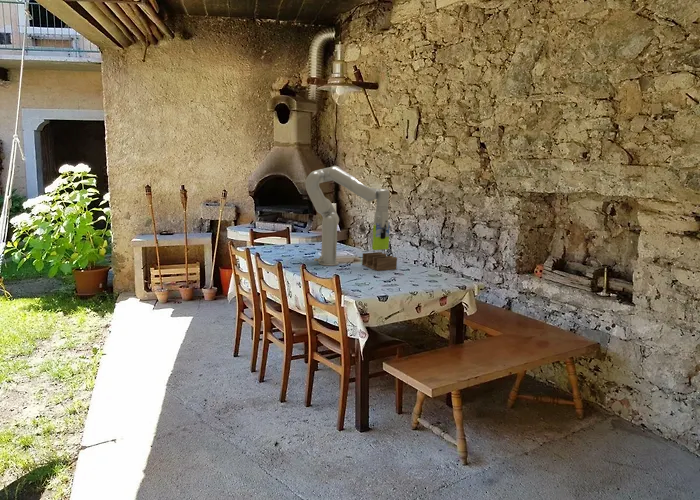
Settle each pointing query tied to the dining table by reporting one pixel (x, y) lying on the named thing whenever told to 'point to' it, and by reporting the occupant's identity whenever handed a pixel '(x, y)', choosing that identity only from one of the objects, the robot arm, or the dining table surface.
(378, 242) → the box
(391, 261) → the rack
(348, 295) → the dining table surface
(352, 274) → the dining table surface
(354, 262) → the dining table surface
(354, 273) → the dining table surface
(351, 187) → the robot arm
